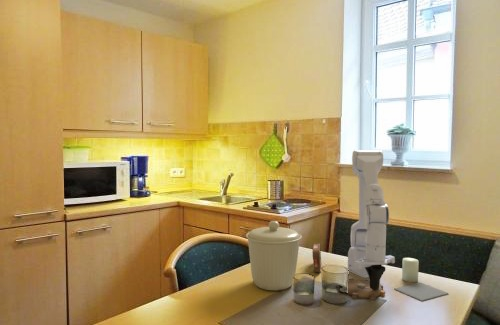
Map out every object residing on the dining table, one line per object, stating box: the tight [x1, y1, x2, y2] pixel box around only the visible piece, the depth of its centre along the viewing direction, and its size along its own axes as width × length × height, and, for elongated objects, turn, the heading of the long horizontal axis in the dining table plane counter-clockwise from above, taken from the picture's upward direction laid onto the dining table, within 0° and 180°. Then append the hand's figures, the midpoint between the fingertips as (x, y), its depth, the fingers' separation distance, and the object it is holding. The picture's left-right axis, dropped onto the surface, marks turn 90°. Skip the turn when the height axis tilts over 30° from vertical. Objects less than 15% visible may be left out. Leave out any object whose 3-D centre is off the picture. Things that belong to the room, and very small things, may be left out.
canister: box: [245, 220, 303, 291], centre depth 121 cm, size 18×18×21 cm
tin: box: [312, 243, 322, 273], centre depth 138 cm, size 15×3×8 cm, turn 168°
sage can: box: [401, 257, 420, 283], centre depth 126 cm, size 5×5×7 cm
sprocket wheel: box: [347, 278, 386, 301], centre depth 116 cm, size 14×14×4 cm
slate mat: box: [394, 281, 449, 302], centre depth 116 cm, size 10×12×1 cm
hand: (374, 288), depth 113 cm, fingers closed, pressing on sprocket wheel
